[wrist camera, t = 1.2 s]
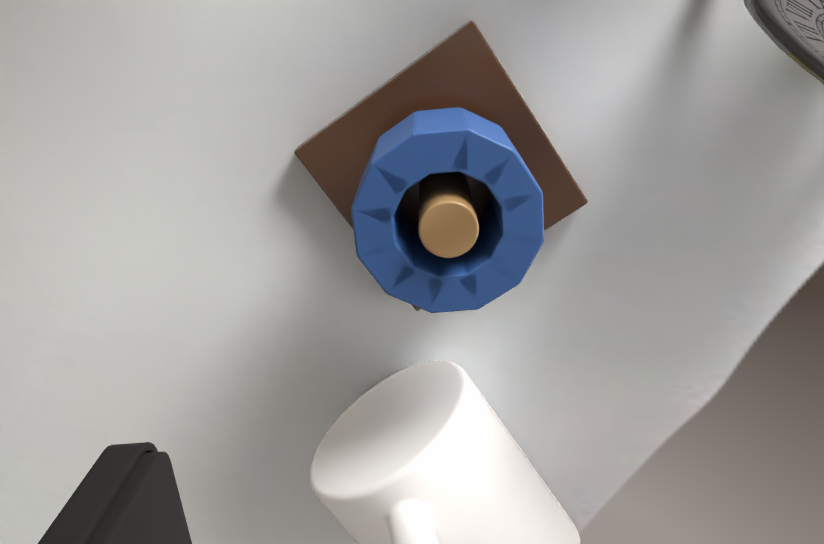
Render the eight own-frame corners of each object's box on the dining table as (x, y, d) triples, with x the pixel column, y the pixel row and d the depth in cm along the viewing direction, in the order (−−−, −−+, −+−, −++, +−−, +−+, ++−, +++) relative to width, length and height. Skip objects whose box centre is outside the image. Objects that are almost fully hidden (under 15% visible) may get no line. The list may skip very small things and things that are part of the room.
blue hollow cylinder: (330, 171, 27) (314, 203, 23) (466, 74, 26) (475, 89, 22) (424, 293, 29) (424, 343, 25) (555, 209, 28) (579, 247, 24)
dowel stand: (296, 147, 30) (256, 198, 23) (471, 19, 28) (489, 28, 21) (416, 303, 33) (415, 394, 25) (583, 196, 31) (635, 261, 23)
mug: (460, 333, 33) (480, 504, 22) (564, 481, 36) (628, 697, 25) (320, 413, 35) (274, 609, 24) (431, 548, 38) (436, 776, 27)
